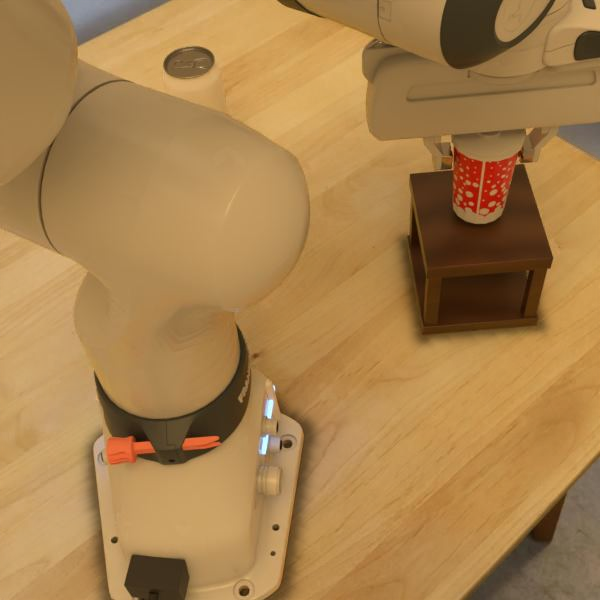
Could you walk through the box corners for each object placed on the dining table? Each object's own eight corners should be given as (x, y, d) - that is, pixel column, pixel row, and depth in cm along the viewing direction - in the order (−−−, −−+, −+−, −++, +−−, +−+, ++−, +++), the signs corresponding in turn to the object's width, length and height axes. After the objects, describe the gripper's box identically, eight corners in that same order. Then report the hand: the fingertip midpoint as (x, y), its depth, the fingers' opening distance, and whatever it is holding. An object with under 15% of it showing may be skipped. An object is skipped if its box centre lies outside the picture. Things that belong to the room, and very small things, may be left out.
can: (231, 163, 99) (216, 78, 90) (176, 165, 100) (155, 81, 90) (235, 126, 103) (220, 41, 94) (182, 128, 104) (162, 44, 94)
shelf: (536, 325, 82) (553, 257, 74) (422, 335, 82) (427, 268, 75) (511, 233, 90) (524, 163, 82) (406, 242, 90) (409, 173, 82)
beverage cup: (516, 186, 79) (538, 59, 67) (509, 234, 75) (531, 109, 64) (449, 177, 80) (461, 51, 69) (439, 225, 76) (449, 100, 65)
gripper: (365, 60, 60) (367, 198, 71) (656, 34, 60) (613, 177, 71) (357, 8, 64) (360, 147, 75) (630, -16, 64) (593, 126, 75)
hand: (484, 161), depth 73 cm, fingers closed on beverage cup, 6 cm apart
